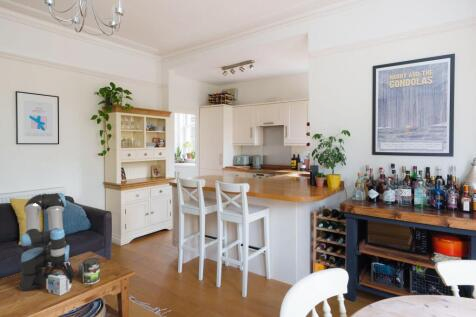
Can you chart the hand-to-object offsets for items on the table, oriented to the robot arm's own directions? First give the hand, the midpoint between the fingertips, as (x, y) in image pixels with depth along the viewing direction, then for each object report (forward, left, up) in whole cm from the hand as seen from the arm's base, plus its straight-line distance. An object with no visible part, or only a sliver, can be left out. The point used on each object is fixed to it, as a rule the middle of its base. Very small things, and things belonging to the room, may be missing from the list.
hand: (59, 288), depth 177 cm
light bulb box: (0, 0, -2) cm, 2 cm away
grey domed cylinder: (+2, +23, -2) cm, 23 cm away
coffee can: (+13, +14, -2) cm, 19 cm away
